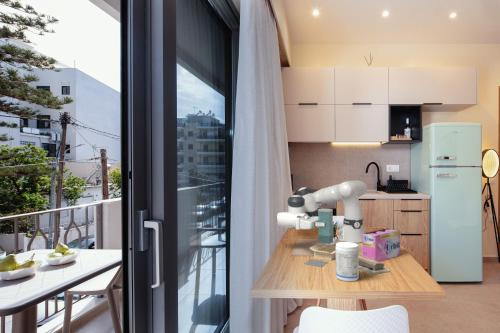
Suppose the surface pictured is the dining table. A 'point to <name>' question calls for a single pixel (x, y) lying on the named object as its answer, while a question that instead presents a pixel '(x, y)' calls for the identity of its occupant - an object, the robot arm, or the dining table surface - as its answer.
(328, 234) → the tea tin
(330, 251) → the beige square bowl
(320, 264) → the coaster
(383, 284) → the dining table surface
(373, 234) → the gum box
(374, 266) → the grey layered block
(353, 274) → the supplement tub
